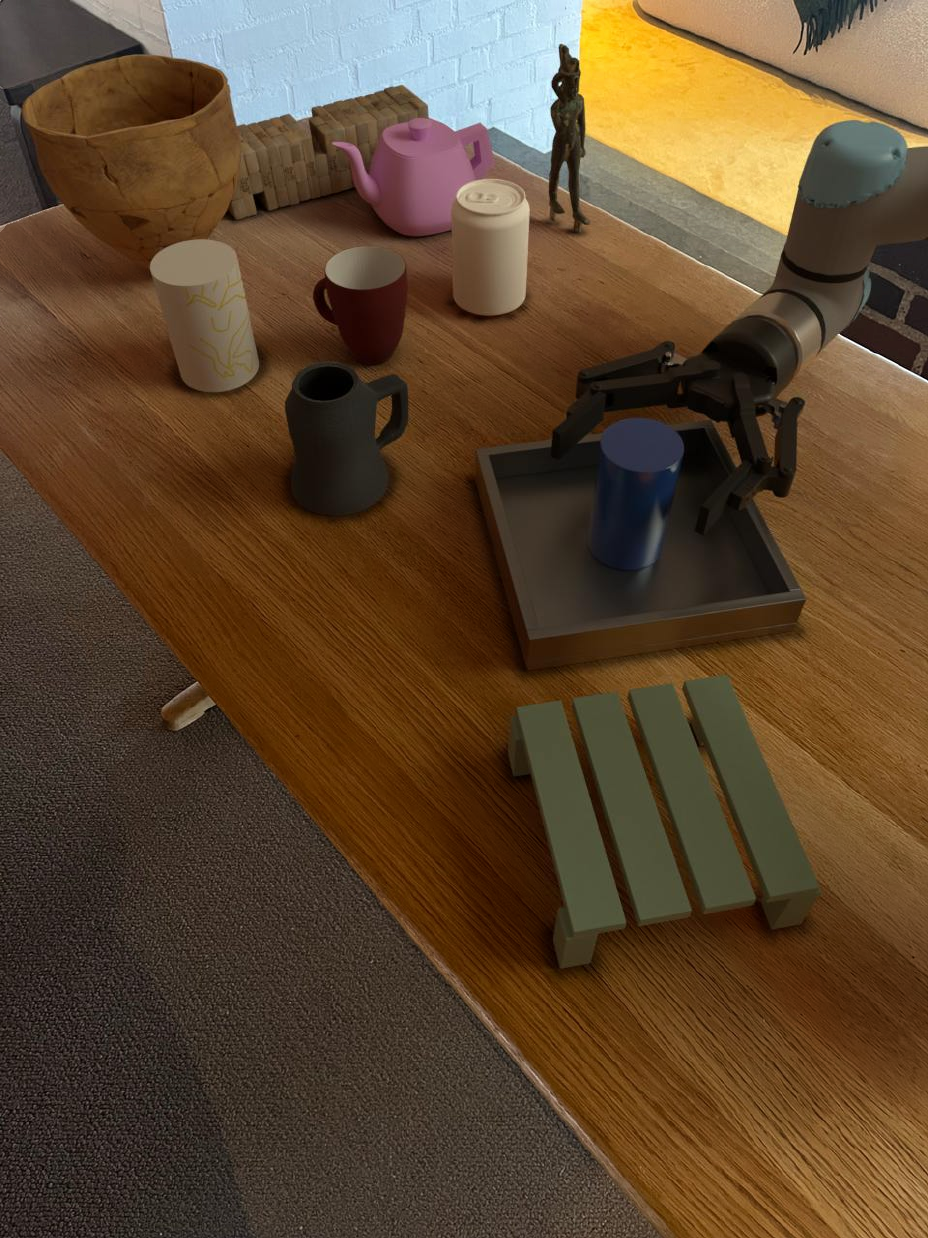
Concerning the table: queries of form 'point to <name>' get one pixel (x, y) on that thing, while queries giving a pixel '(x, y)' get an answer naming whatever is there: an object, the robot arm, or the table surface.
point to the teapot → (419, 173)
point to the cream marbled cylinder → (206, 314)
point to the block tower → (315, 149)
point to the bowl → (139, 149)
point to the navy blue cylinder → (633, 492)
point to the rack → (635, 818)
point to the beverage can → (490, 246)
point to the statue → (567, 135)
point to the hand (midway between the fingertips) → (625, 482)
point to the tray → (628, 599)
